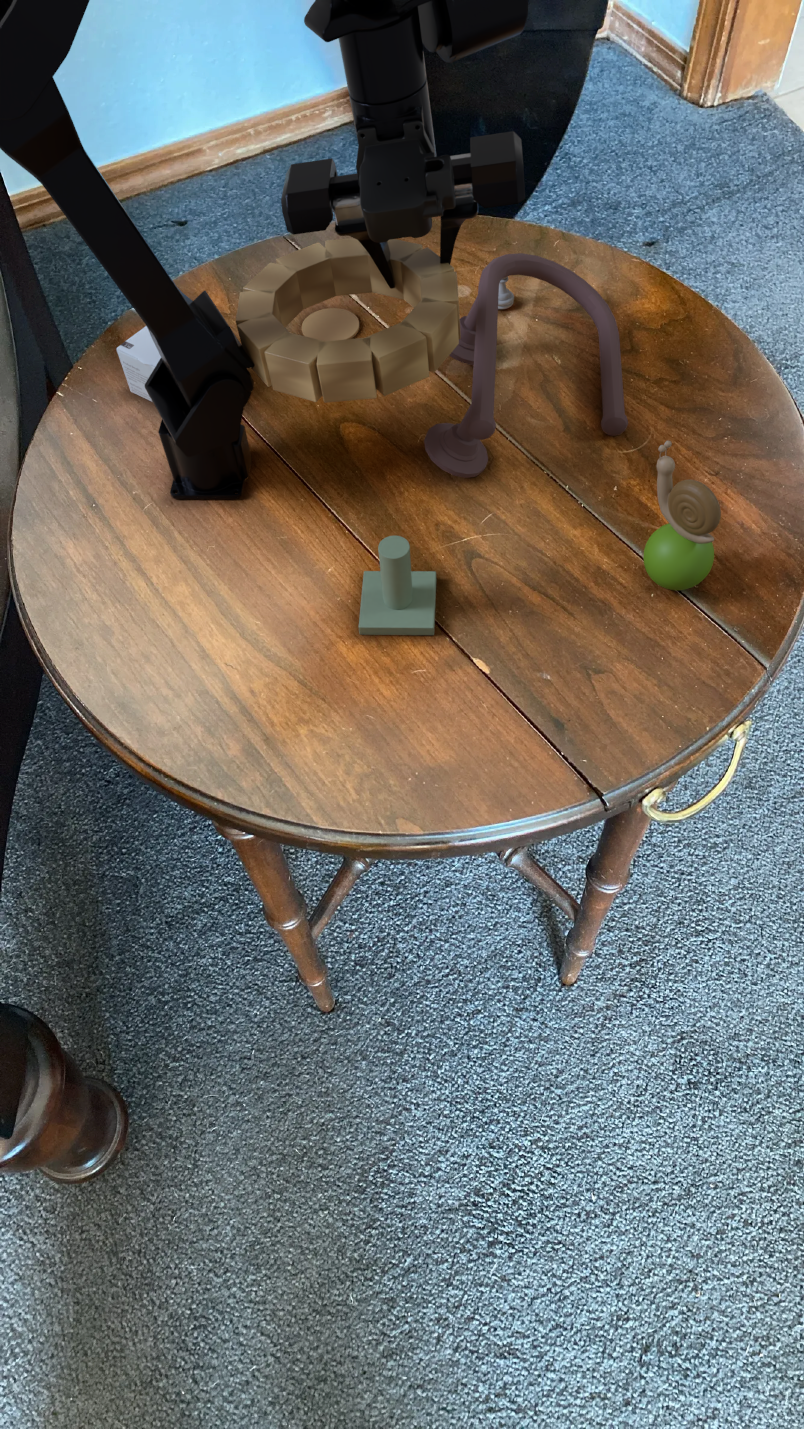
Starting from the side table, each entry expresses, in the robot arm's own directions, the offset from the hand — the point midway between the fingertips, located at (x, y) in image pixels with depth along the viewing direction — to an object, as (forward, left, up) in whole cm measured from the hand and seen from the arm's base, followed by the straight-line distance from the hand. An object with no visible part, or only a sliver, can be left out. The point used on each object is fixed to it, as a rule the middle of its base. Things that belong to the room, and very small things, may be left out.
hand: (418, 282), depth 83 cm
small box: (-24, +3, -13) cm, 27 cm away
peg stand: (-1, -25, -13) cm, 28 cm away
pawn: (+22, +4, -13) cm, 26 cm away
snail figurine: (+21, -22, -13) cm, 33 cm away
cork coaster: (-10, +12, -13) cm, 20 cm away
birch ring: (-5, -5, -2) cm, 7 cm away
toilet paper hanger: (+10, +2, -13) cm, 16 cm away
